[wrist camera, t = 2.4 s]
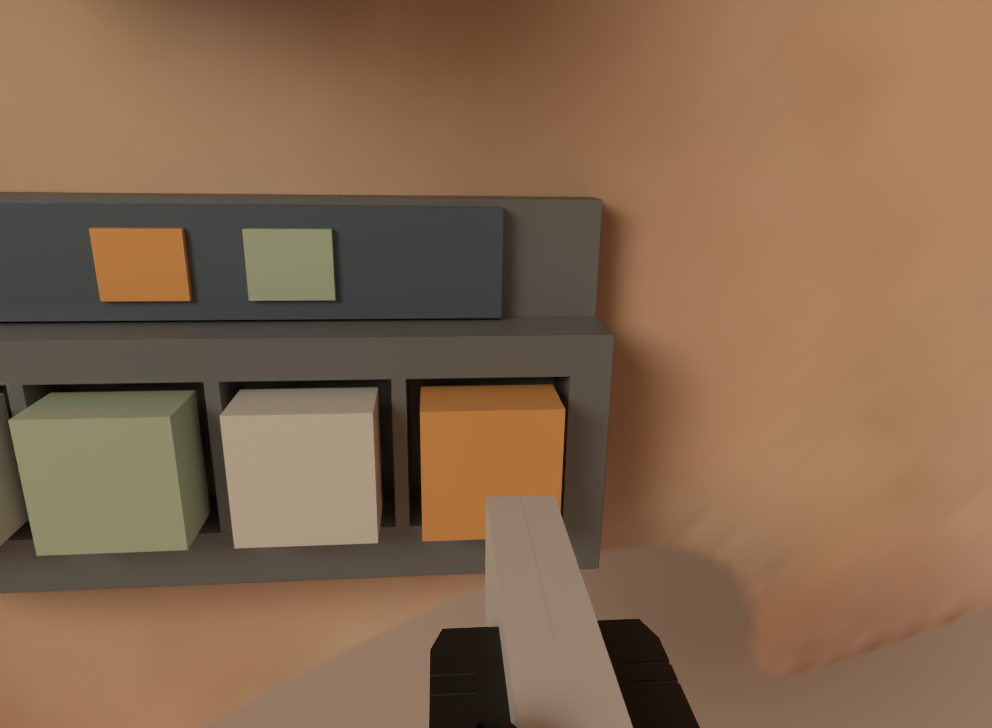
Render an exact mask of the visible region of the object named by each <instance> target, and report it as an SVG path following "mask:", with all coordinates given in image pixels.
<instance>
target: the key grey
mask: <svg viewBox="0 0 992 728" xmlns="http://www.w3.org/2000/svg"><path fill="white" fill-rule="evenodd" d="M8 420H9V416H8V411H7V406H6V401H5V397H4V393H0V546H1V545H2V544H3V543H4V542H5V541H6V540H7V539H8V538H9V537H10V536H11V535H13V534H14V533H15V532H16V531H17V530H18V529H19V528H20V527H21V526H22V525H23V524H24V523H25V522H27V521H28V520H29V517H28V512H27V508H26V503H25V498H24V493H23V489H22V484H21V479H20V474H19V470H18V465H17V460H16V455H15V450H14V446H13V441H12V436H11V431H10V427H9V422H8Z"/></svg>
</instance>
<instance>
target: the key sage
mask: <svg viewBox="0 0 992 728" xmlns="http://www.w3.org/2000/svg"><path fill="white" fill-rule="evenodd" d="M8 422H9V427H10V431H11V436H12V441H13V446H14V450H15V455H16V460H17V465H18V470H19V474H20V479H21V484H22V489H23V493H24V498H25V503H26V508H27V512H28V517H29V522H30V527H31V531H32V536H33V541H34V546H35V550H36V555H37V556H45V555H72V554H99V553H126V552H153V551H180V550H188V549H189V547H190V546H191V544H192V542H193V541H194V539H195V537H196V536H197V534H198V532H199V531H200V529H201V527H202V526H203V524H204V522H205V521H206V519H207V517H208V516H209V514H210V505H209V497H208V489H207V481H206V472H205V464H204V456H203V448H202V439H201V431H200V423H199V415H198V407H197V398H196V390H177V391H116V392H55V393H49V394H48V395H46V396H45V397H43V398H42V399H40V400H38V401H37V402H35V403H34V404H32V405H31V406H29V407H28V408H26V409H25V410H23V411H22V412H20V413H18V414H17V415H15V416H14V417H12V418H11V419H9V420H8Z"/></svg>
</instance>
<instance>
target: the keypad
mask: <svg viewBox="0 0 992 728" xmlns="http://www.w3.org/2000/svg"><path fill="white" fill-rule="evenodd" d="M601 216H602V200H601V199H597V198H594V197H504V196H391V195H278V194H165V193H52V192H0V393H4V397H5V401H6V406H7V411H8V416H9V419H11V418H12V417H14V416H15V415H17V414H18V413H20V412H22V411H23V410H25V409H26V408H28V407H29V406H31V405H32V404H34V403H35V402H37V401H38V400H40V399H42V398H43V397H45V396H46V395H48V394H49V393H55V392H116V391H177V390H196V398H197V407H198V415H199V423H200V431H201V439H202V448H203V456H204V464H205V472H206V481H207V489H208V497H209V505H210V514H209V516H208V517H207V519H206V521H205V522H204V524H203V526H202V527H201V529H200V531H199V532H198V534H197V536H196V537H195V539H194V541H193V542H192V544H191V546H190V547H189V549H188V550H180V551H153V552H126V553H99V554H72V555H45V556H37V555H36V550H35V546H34V541H33V536H32V531H31V527H30V522H29V520H28V521H27V522H25V523H24V524H23V525H22V526H21V527H20V528H19V529H18V530H17V531H16V532H15V533H14V534H13V535H11V536H10V537H9V538H8V539H7V540H6V541H5V542H4V543H3V544H2V545H1V546H0V593H14V592H39V591H63V590H87V589H111V588H135V587H159V586H183V585H208V584H232V583H256V582H280V581H304V580H328V579H352V578H376V577H401V576H425V575H449V574H473V573H485V541H486V539H478V540H451V541H424V542H422V496H421V445H420V394H421V386H482V385H543V384H553V386H554V388H555V390H556V392H557V394H558V396H559V398H560V400H561V402H562V404H563V406H564V407H565V428H564V449H563V470H562V491H561V512H560V513H561V516H562V519H563V522H564V525H565V528H566V531H567V534H568V537H569V540H570V543H571V546H572V549H573V552H574V554H575V557H576V560H577V563H578V566H579V569H594V568H599V556H600V542H601V527H602V512H603V497H604V483H605V468H606V453H607V438H608V424H609V409H610V394H611V380H612V365H613V350H614V334H613V333H612V332H611V331H610V330H609V329H608V328H607V327H606V326H605V325H604V324H603V323H602V322H601V321H600V320H599V319H598V318H597V317H596V301H597V284H598V267H599V250H600V233H601ZM360 387H378V396H379V422H380V448H381V474H382V500H383V509H382V517H381V524H380V532H379V540H378V543H370V544H343V545H316V546H289V547H262V548H235V549H234V541H233V532H232V523H231V515H230V506H229V497H228V488H227V479H226V470H225V461H224V452H223V443H222V434H221V425H220V415H221V413H222V412H223V411H224V410H225V408H226V407H227V406H228V404H229V403H230V402H231V401H232V399H233V398H234V397H235V395H236V394H237V393H238V392H239V390H240V389H299V388H360Z"/></svg>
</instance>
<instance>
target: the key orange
mask: <svg viewBox="0 0 992 728" xmlns="http://www.w3.org/2000/svg"><path fill="white" fill-rule="evenodd" d="M564 428H565V407H564V406H563V404H562V402H561V400H560V398H559V396H558V394H557V392H556V390H555V388H554V386H553V384H543V385H482V386H421V394H420V445H421V496H422V542H424V541H451V540H478V539H486V497H501V496H540V495H555V498H556V501H557V504H558V507H559V510H560V512H561V491H562V470H563V449H564Z"/></svg>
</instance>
